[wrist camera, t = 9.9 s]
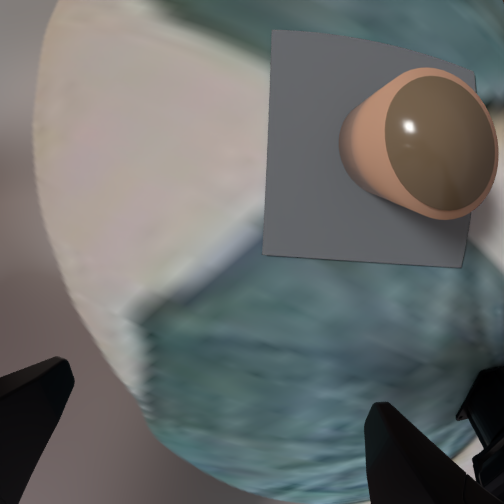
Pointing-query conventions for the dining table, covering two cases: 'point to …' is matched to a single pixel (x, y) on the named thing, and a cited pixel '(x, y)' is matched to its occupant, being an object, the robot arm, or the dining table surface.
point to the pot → (422, 144)
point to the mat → (329, 161)
